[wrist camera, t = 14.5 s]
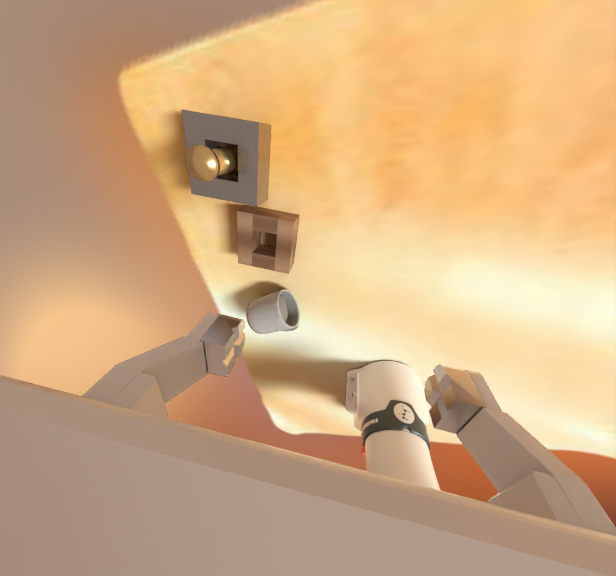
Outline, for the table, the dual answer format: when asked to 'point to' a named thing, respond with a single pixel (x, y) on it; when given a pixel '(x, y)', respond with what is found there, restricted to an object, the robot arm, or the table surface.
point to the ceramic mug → (273, 313)
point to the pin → (210, 162)
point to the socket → (251, 156)
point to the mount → (271, 222)
